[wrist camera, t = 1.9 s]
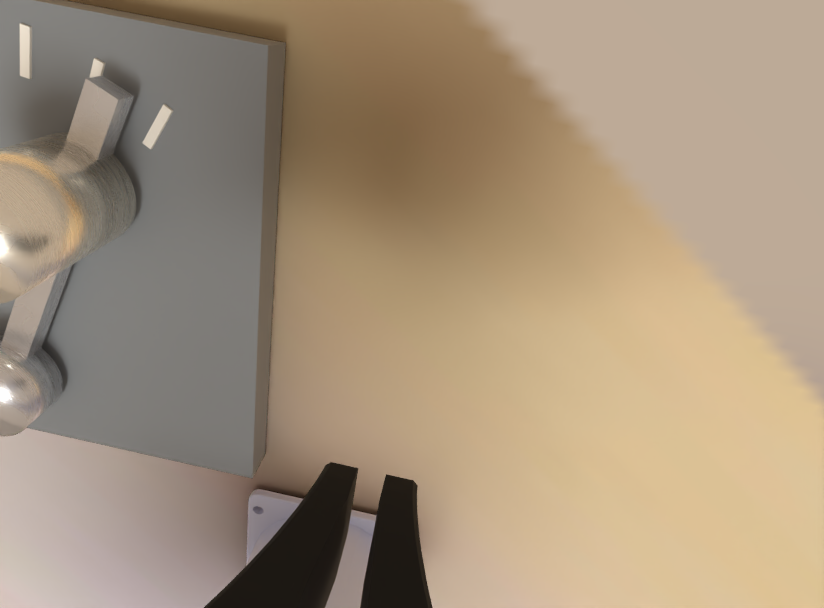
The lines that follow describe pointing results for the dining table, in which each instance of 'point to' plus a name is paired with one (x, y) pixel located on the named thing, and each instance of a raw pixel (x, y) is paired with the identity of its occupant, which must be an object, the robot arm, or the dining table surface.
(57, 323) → the dial board
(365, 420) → the dining table surface
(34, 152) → the lever
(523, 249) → the dining table surface
